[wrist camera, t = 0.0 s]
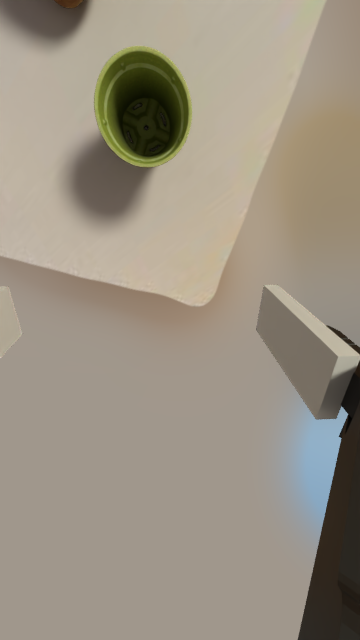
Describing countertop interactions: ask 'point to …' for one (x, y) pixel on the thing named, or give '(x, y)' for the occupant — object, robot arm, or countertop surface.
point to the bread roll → (69, 3)
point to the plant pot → (156, 97)
